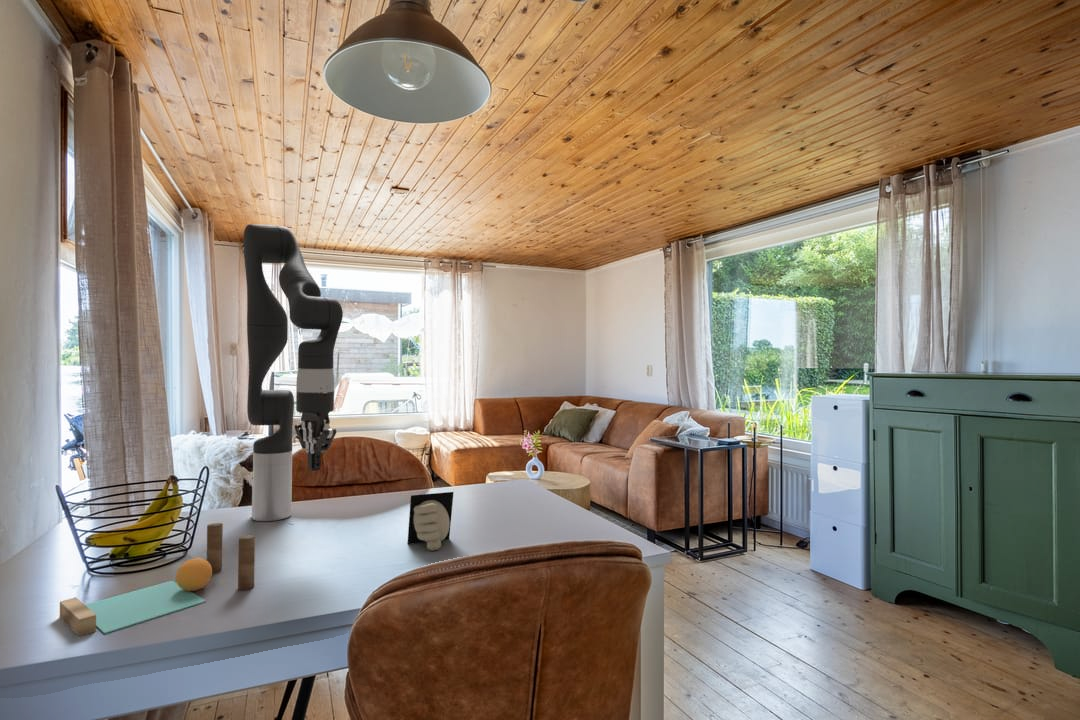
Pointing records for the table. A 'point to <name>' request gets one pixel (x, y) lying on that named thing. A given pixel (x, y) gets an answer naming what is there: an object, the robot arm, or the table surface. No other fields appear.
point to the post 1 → (215, 546)
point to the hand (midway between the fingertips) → (314, 470)
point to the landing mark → (141, 606)
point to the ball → (194, 574)
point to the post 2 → (246, 562)
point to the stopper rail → (78, 616)
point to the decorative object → (430, 519)
